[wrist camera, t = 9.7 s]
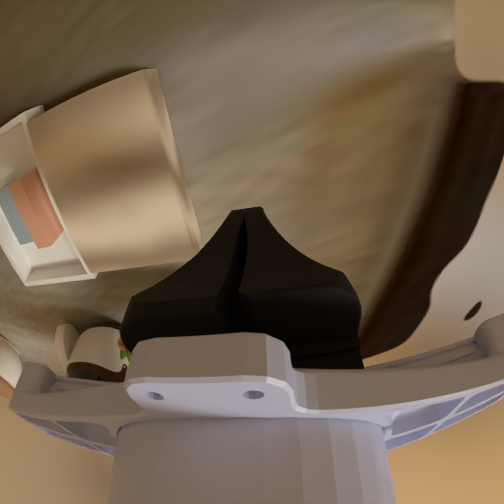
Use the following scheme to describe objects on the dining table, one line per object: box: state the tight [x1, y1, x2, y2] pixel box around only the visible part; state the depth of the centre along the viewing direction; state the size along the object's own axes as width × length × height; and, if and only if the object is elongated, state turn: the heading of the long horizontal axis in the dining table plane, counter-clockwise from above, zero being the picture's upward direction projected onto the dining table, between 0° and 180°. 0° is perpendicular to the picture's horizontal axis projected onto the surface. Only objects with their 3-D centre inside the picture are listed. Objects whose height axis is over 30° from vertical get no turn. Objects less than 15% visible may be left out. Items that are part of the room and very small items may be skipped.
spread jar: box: [55, 323, 132, 383], centre depth 29 cm, size 12×11×12 cm
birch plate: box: [26, 68, 202, 273], centre depth 19 cm, size 14×10×3 cm
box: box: [0, 104, 99, 286], centre depth 20 cm, size 16×11×2 cm
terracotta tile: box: [8, 166, 64, 249], centre depth 19 cm, size 6×4×2 cm
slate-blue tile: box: [0, 177, 34, 245], centre depth 20 cm, size 6×4×2 cm, turn 9°
